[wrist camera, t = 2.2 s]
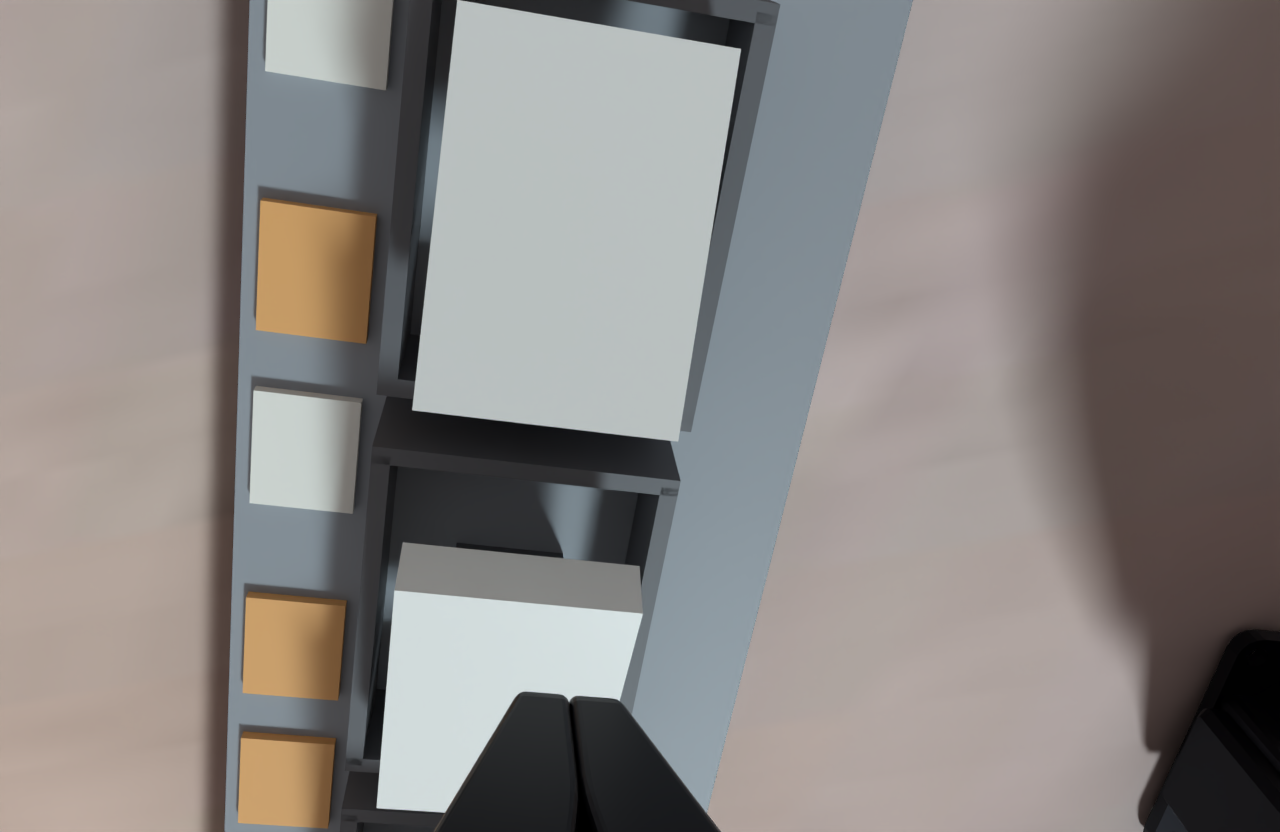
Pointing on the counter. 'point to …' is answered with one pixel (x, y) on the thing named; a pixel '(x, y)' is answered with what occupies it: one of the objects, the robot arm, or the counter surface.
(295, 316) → the switch panel
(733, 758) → the counter surface
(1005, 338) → the counter surface
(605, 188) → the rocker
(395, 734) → the middle rocker
